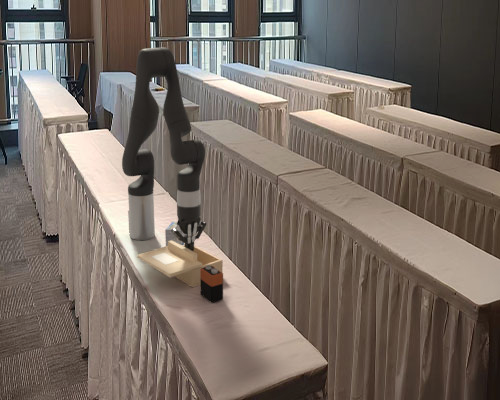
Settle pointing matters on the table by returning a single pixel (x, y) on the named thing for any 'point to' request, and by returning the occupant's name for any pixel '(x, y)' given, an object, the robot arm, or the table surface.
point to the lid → (171, 259)
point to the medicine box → (170, 235)
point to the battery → (211, 283)
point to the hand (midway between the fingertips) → (189, 252)
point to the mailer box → (206, 259)
